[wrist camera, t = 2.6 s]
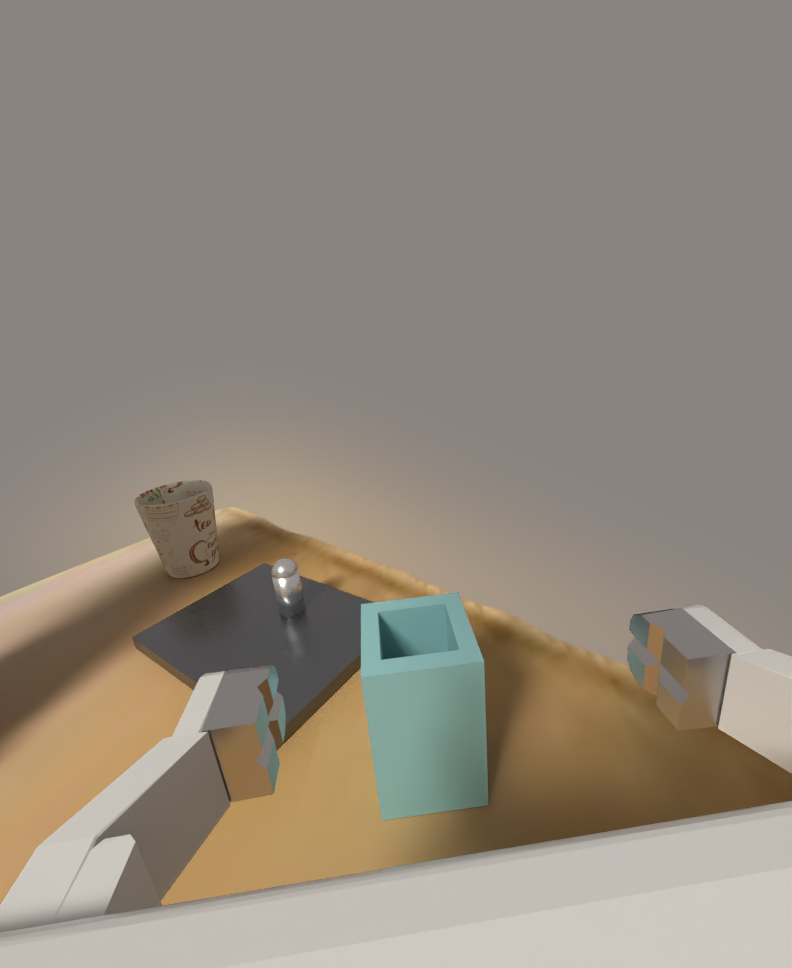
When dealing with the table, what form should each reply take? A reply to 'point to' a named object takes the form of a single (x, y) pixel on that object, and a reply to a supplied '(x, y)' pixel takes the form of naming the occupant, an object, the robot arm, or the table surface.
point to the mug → (181, 526)
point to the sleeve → (424, 705)
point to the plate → (266, 636)
